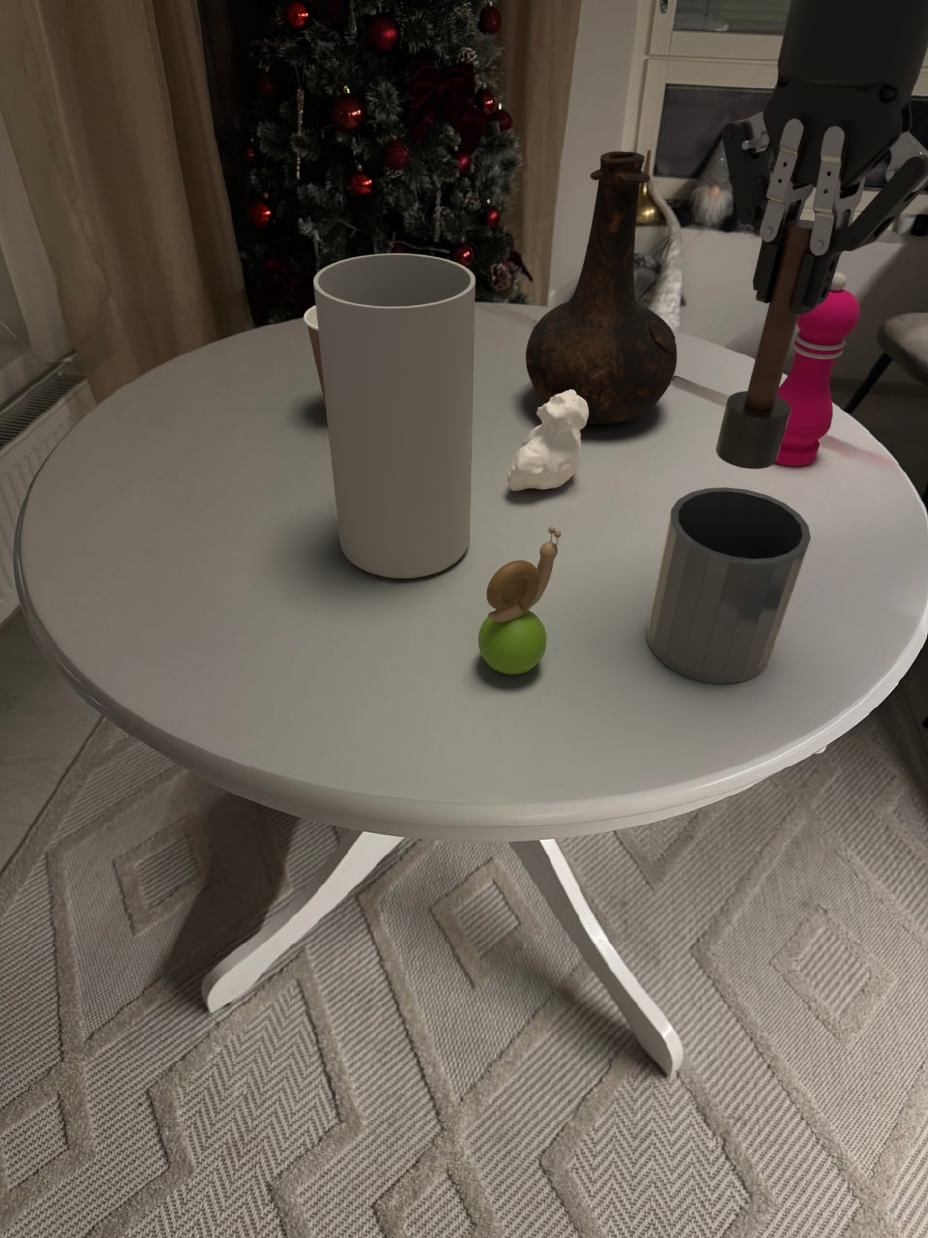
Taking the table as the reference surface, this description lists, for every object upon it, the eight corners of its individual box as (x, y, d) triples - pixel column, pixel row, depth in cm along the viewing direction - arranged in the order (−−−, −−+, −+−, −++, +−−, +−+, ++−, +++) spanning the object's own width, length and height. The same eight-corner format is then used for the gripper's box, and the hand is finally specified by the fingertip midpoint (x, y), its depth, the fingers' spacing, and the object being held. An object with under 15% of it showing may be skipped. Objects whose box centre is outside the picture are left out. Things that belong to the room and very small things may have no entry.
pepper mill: (811, 475, 92) (871, 290, 80) (746, 458, 95) (793, 276, 82) (825, 447, 97) (884, 269, 84) (763, 432, 100) (810, 256, 87)
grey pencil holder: (693, 589, 77) (721, 473, 69) (793, 645, 71) (836, 526, 63) (622, 638, 71) (643, 519, 64) (723, 703, 66) (761, 581, 58)
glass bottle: (632, 457, 95) (677, 185, 77) (495, 416, 102) (506, 158, 84) (688, 398, 107) (738, 150, 88) (561, 365, 114) (584, 129, 96)
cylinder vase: (496, 544, 82) (508, 280, 65) (398, 600, 75) (385, 321, 59) (410, 494, 88) (402, 243, 72) (314, 541, 82) (281, 276, 65)
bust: (520, 523, 88) (589, 466, 80) (472, 468, 88) (536, 405, 79) (570, 473, 96) (638, 417, 88) (526, 423, 96) (590, 361, 87)
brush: (737, 434, 65) (794, 209, 54) (788, 455, 62) (857, 225, 52) (703, 452, 62) (755, 222, 52) (754, 475, 60) (820, 238, 50)
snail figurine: (566, 666, 69) (582, 545, 61) (504, 698, 66) (512, 575, 58) (525, 630, 72) (535, 511, 64) (464, 659, 69) (466, 538, 61)
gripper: (1038, -21, 42) (913, 322, 53) (793, -36, 50) (729, 266, 61) (974, -17, 38) (854, 352, 49) (719, -33, 46) (665, 289, 57)
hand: (785, 303), depth 55 cm, fingers closed on brush, 2 cm apart
